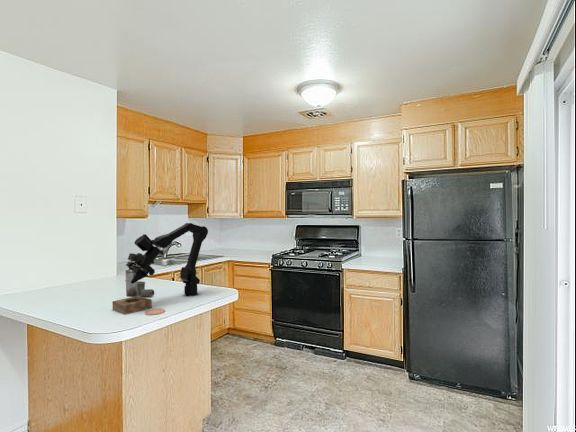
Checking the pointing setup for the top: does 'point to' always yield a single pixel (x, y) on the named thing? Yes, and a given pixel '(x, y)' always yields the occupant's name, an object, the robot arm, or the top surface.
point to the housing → (132, 304)
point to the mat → (155, 311)
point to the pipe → (144, 290)
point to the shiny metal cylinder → (131, 288)
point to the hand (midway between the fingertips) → (128, 282)
